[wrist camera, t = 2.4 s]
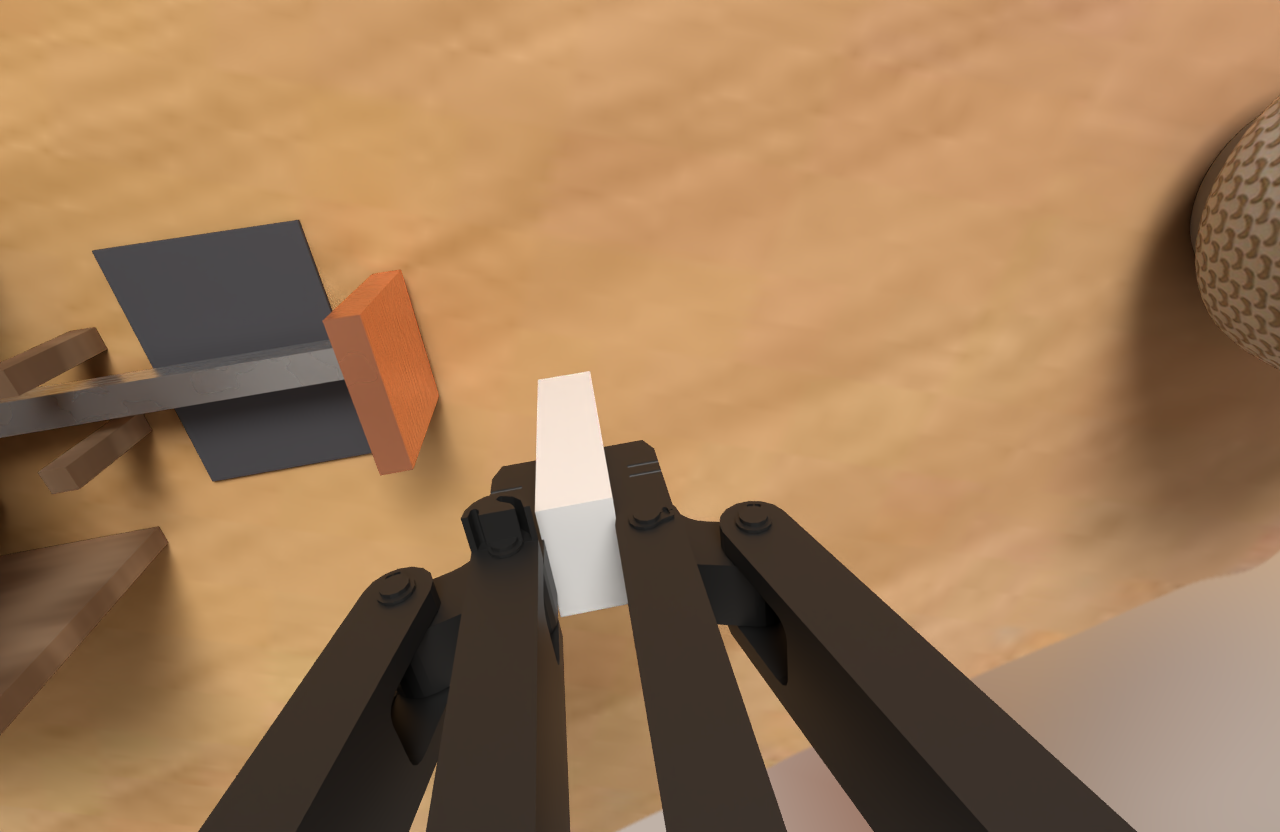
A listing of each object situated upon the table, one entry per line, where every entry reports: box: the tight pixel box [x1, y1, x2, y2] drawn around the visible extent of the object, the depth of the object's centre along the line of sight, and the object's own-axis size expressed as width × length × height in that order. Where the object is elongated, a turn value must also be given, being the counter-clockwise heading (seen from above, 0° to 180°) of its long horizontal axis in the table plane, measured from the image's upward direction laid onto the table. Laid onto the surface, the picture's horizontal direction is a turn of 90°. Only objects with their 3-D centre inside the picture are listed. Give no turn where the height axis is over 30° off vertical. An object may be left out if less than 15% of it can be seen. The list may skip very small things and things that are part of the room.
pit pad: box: [92, 220, 372, 481], centre depth 27 cm, size 8×11×1 cm
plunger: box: [0, 270, 439, 475], centre depth 24 cm, size 21×9×7 cm, turn 97°
